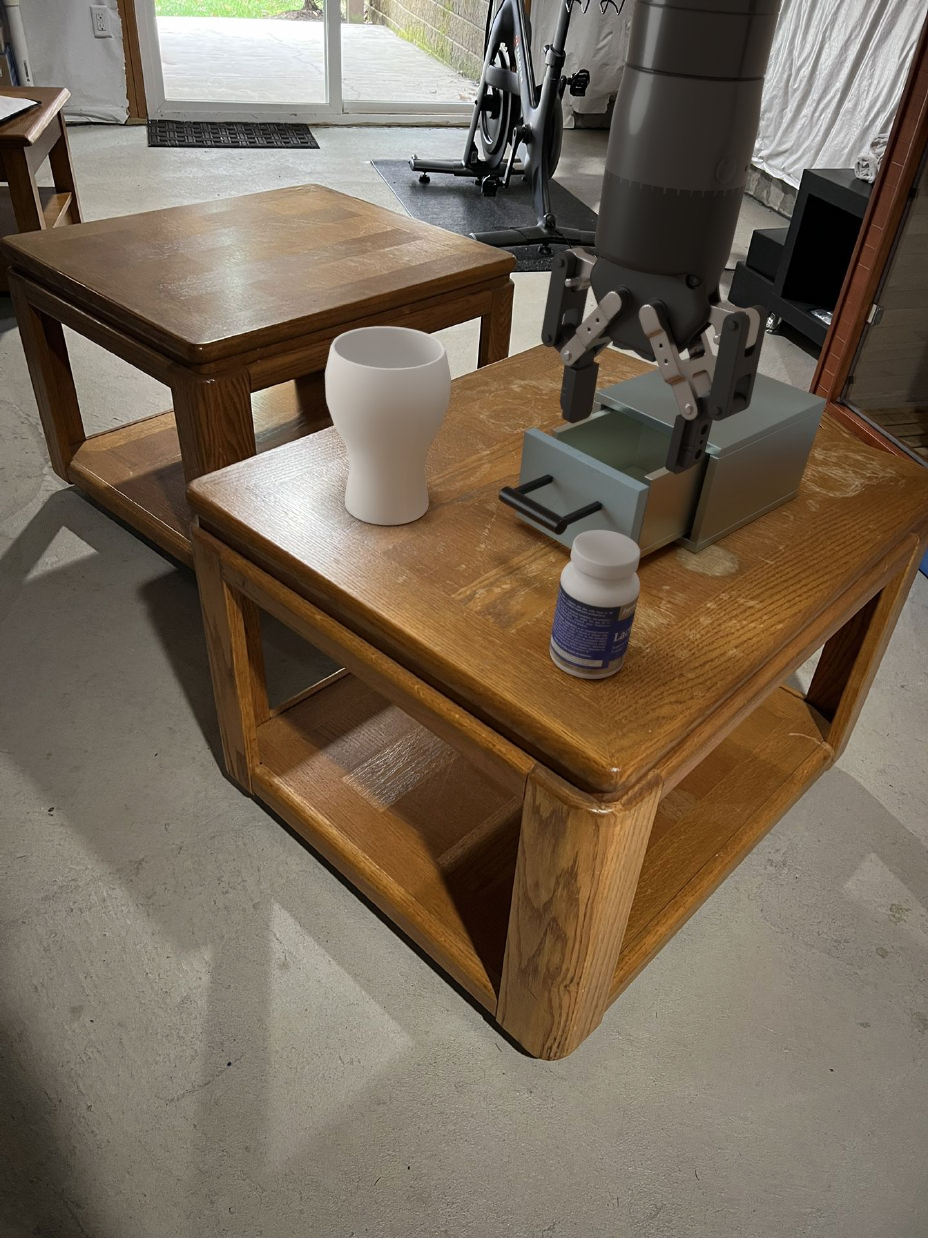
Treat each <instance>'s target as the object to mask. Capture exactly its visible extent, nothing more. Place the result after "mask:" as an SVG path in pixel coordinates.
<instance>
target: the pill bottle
mask: <svg viewBox="0 0 928 1238" xmlns="http://www.w3.org/2000/svg"><path fill="white" fill-rule="evenodd" d="M640 559H641V558H640V549H639V547H638V545H637V544H636V543H635V542H634V541H633V540H632V539H630V538H629V537H627V536H625V535H622V534H620V533H617V532H613V531H607V530H592V531H586V532H583V533H581V534H579V535H578V536H577V537H576V538H575V539H574V542H573V546H572V549H571V551H570V561H569V562H567V564H566V565H565V566H564V567H563V569H562V571H561V573H560V580H559V585H558V591H557V597H556V604H555V610H554V614H553V615H554V616H553V622H552V628H551V634H550V640H549V654H550V657H551V659H552V661H553V663H554V664H555V665H556V667H558V668H559V669H560V670H562V671H564V672H565V673H567V674H568V675H571V676H574V677H577V678H581V679H587V680H597V679H598V680H599V679H605V678H608V677H611V676H612V675H615V673H616V674H617V672H618V671H620V670H621V669H622V667H623V665H624V664H625V660H626V657H627V656H626V655H627V651H628V647H629V642H630V638H631V634H632V629H633V623H634V619H635V615H636V610H637V606H638V601H639V598H640V591H641V582H640V577H639V575H638V574H637V570H638V567H639V563H640Z"/></svg>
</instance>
